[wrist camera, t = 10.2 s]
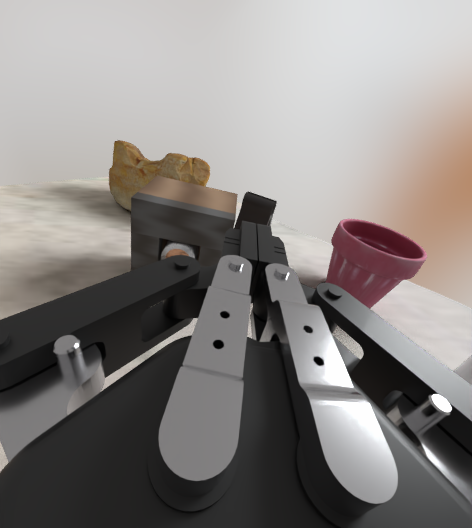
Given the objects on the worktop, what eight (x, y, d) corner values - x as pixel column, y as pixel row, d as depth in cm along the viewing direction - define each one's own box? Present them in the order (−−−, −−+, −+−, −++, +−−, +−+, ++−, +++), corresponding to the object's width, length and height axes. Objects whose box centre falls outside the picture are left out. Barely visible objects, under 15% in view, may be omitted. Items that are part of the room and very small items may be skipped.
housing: (219, 271, 46) (237, 194, 38) (213, 309, 37) (235, 220, 30) (152, 258, 45) (157, 175, 37) (131, 294, 36) (131, 197, 29)
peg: (203, 241, 43) (207, 217, 40) (192, 276, 34) (197, 248, 32) (177, 236, 42) (179, 211, 40) (159, 270, 34) (161, 241, 31)
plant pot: (299, 271, 52) (324, 213, 45) (352, 272, 57) (382, 220, 50) (339, 324, 41) (380, 258, 34) (401, 320, 46) (448, 262, 39)
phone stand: (252, 264, 50) (270, 208, 44) (225, 253, 52) (238, 197, 45) (264, 247, 58) (281, 196, 51) (240, 237, 59) (254, 187, 53)
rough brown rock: (223, 221, 66) (235, 162, 59) (188, 238, 52) (200, 162, 45) (150, 195, 72) (154, 138, 65) (101, 204, 58) (100, 132, 51)
